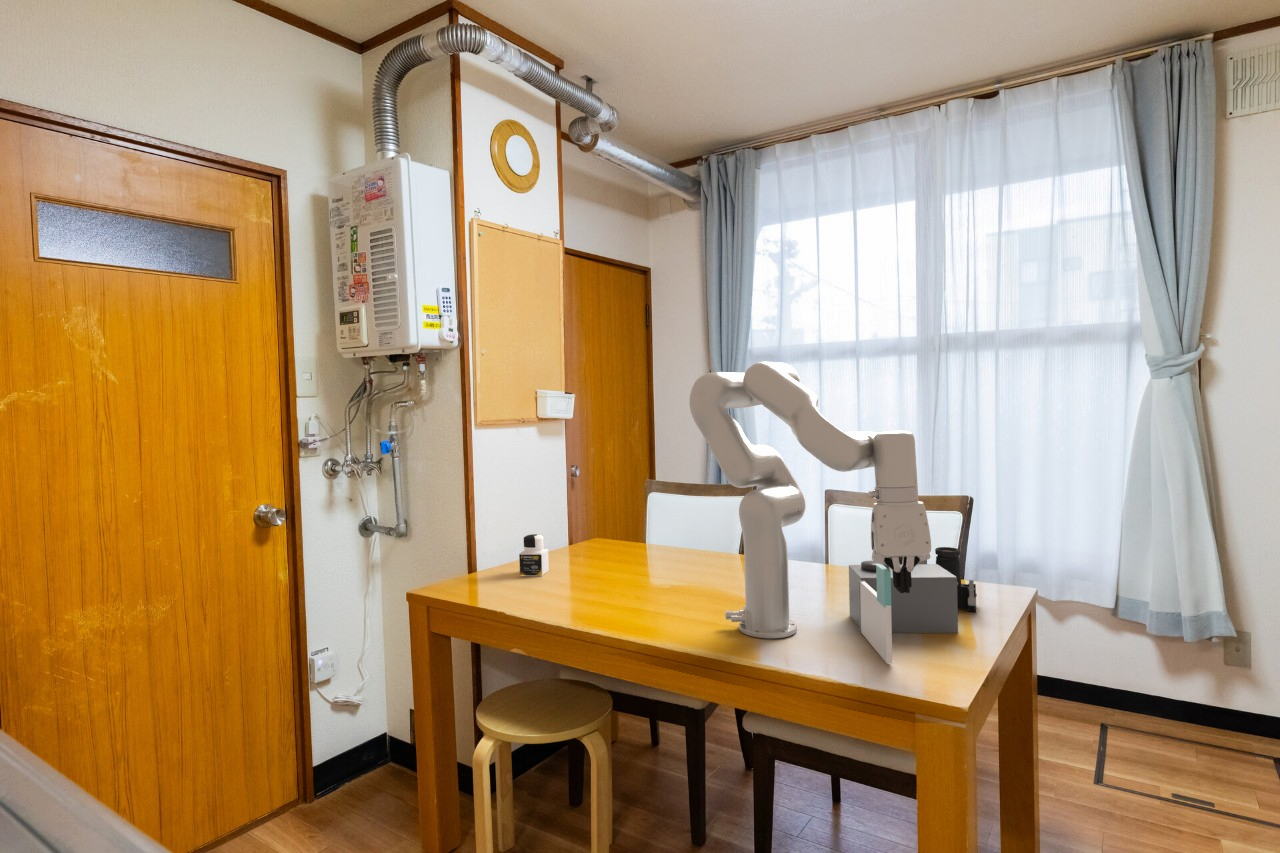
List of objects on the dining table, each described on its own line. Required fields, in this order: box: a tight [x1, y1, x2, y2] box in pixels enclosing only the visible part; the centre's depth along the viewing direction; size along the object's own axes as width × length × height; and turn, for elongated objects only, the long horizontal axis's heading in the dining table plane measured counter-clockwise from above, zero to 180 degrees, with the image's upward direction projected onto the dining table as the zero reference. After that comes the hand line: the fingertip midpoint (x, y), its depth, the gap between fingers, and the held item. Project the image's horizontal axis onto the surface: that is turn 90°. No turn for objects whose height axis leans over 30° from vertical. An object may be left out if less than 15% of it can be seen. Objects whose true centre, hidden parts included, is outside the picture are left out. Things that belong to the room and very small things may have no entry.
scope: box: [934, 546, 978, 613], centre depth 161 cm, size 8×14×10 cm
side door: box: [858, 565, 893, 665], centre depth 135 cm, size 19×1×18 cm, turn 177°
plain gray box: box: [848, 560, 959, 634], centre depth 150 cm, size 20×12×13 cm, turn 85°
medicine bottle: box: [518, 533, 550, 577], centre depth 207 cm, size 7×7×12 cm
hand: (902, 591), depth 128 cm, fingers closed
